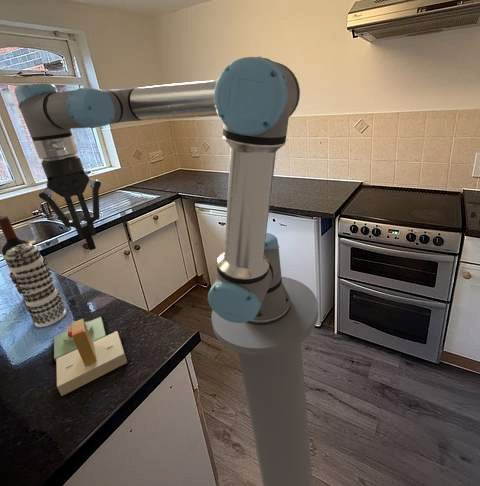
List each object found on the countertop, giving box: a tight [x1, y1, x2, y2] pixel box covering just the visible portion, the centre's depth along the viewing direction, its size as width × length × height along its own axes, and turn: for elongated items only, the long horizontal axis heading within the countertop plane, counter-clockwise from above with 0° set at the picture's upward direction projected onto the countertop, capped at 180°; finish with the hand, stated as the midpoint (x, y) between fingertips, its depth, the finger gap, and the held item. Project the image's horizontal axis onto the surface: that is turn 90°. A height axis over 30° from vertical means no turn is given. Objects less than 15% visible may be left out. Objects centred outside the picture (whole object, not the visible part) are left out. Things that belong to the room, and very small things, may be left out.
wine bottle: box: [0, 215, 31, 286], centre depth 101 cm, size 8×8×30 cm
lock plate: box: [55, 330, 128, 397], centre depth 74 cm, size 14×10×3 cm
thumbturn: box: [70, 318, 97, 366], centre depth 72 cm, size 6×2×9 cm, turn 35°
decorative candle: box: [2, 243, 67, 328], centre depth 90 cm, size 9×9×25 cm
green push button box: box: [53, 316, 107, 362], centre depth 83 cm, size 12×10×3 cm
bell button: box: [66, 324, 72, 337], centre depth 83 cm, size 4×4×2 cm
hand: (92, 247), depth 77 cm, fingers closed
